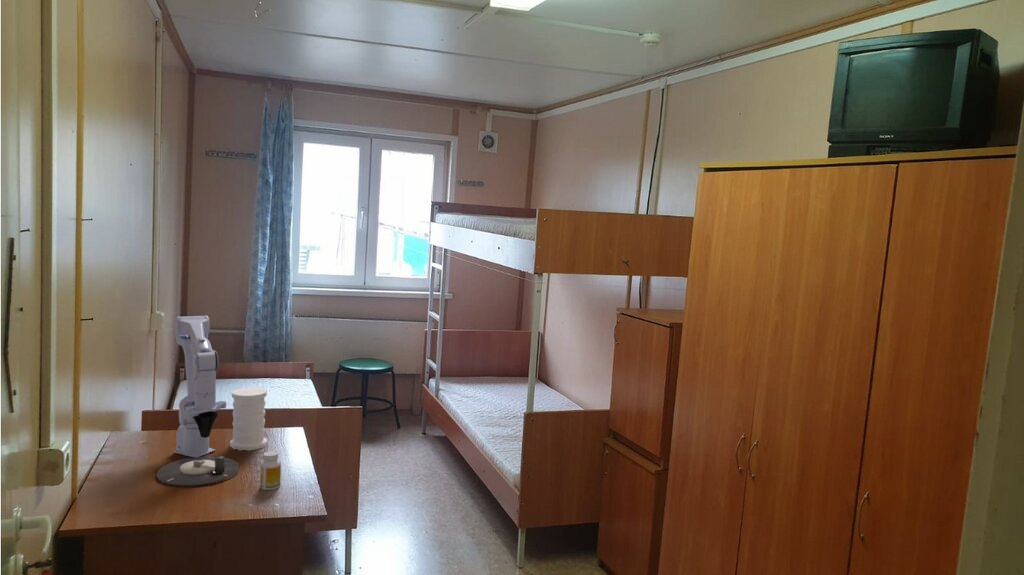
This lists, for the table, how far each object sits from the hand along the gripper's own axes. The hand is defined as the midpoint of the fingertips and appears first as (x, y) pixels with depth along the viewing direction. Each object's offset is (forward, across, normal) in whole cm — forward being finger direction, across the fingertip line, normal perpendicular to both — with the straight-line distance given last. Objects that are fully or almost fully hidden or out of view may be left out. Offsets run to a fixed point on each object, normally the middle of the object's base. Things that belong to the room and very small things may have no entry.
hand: (204, 436), depth 210 cm
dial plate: (+9, -4, -2) cm, 10 cm away
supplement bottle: (+10, -2, -27) cm, 29 cm away
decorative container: (+10, +22, +4) cm, 24 cm away
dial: (+8, -4, -4) cm, 10 cm away
